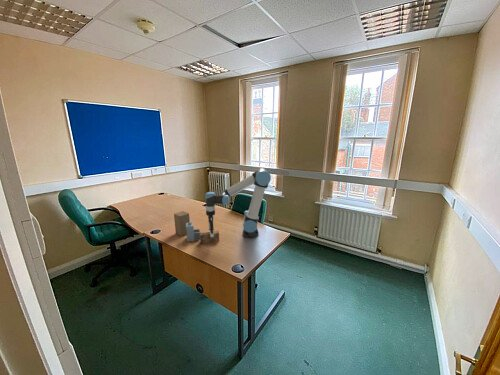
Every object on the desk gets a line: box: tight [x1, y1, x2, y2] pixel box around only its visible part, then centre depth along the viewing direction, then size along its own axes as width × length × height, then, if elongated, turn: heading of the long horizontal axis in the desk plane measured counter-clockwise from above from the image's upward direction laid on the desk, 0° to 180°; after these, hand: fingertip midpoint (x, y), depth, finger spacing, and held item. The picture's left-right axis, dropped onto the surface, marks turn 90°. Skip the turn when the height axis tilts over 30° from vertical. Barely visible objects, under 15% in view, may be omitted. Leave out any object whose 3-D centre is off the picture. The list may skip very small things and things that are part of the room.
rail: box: [199, 230, 220, 244], centre depth 181 cm, size 16×4×8 cm, turn 105°
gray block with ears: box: [186, 221, 201, 242], centre depth 185 cm, size 11×8×16 cm
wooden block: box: [173, 210, 191, 237], centre depth 195 cm, size 10×10×20 cm
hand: (211, 233), depth 181 cm, fingers open, 13 cm apart
